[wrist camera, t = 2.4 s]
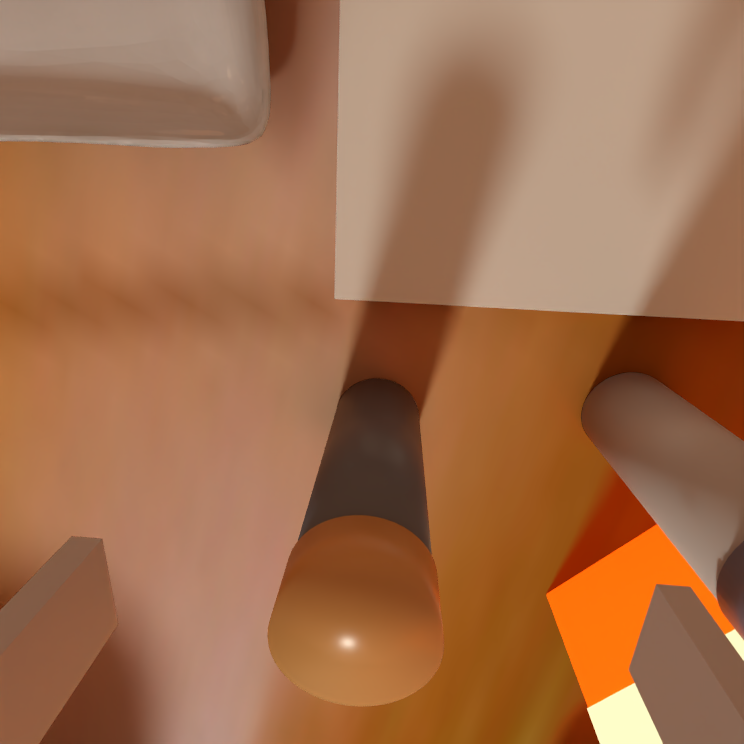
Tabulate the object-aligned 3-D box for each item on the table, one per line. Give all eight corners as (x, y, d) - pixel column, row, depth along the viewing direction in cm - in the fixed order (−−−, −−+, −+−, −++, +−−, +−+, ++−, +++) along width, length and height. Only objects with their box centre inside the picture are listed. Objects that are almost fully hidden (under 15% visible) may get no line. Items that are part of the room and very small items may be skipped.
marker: (333, 452, 23) (269, 699, 12) (334, 373, 22) (264, 566, 10) (417, 458, 23) (436, 712, 12) (424, 379, 21) (452, 580, 10)
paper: (336, 296, 20) (334, 299, 20) (344, -96, 16) (341, -107, 15) (774, 319, 20) (785, 323, 19) (909, -81, 15) (929, -91, 15)
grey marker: (571, 449, 22) (748, 708, 11) (588, 367, 21) (811, 567, 10) (659, 454, 22) (931, 722, 11) (682, 372, 21) (1021, 582, 9)
